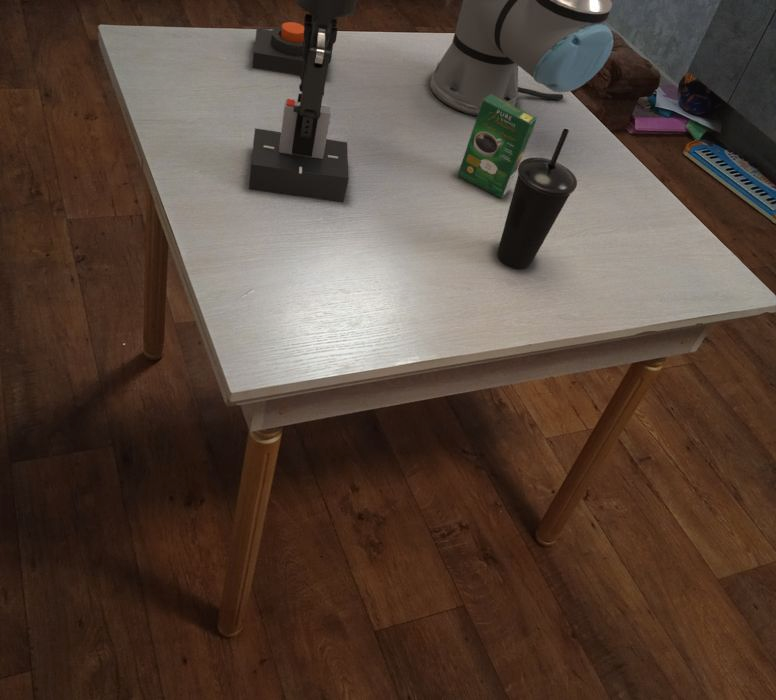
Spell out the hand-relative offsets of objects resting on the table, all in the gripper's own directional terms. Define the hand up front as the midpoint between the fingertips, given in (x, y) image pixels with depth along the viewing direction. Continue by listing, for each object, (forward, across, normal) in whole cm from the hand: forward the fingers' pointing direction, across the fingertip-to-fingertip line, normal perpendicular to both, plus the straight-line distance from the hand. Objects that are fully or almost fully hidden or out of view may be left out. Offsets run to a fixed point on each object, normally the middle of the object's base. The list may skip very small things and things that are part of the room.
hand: (302, 146), depth 112 cm
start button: (+1, -34, -2) cm, 34 cm away
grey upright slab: (+1, 0, 0) cm, 1 cm away
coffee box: (+5, -5, +28) cm, 29 cm away
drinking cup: (+5, +12, +30) cm, 33 cm away
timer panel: (+5, 0, 0) cm, 5 cm away
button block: (+5, -34, -2) cm, 34 cm away
